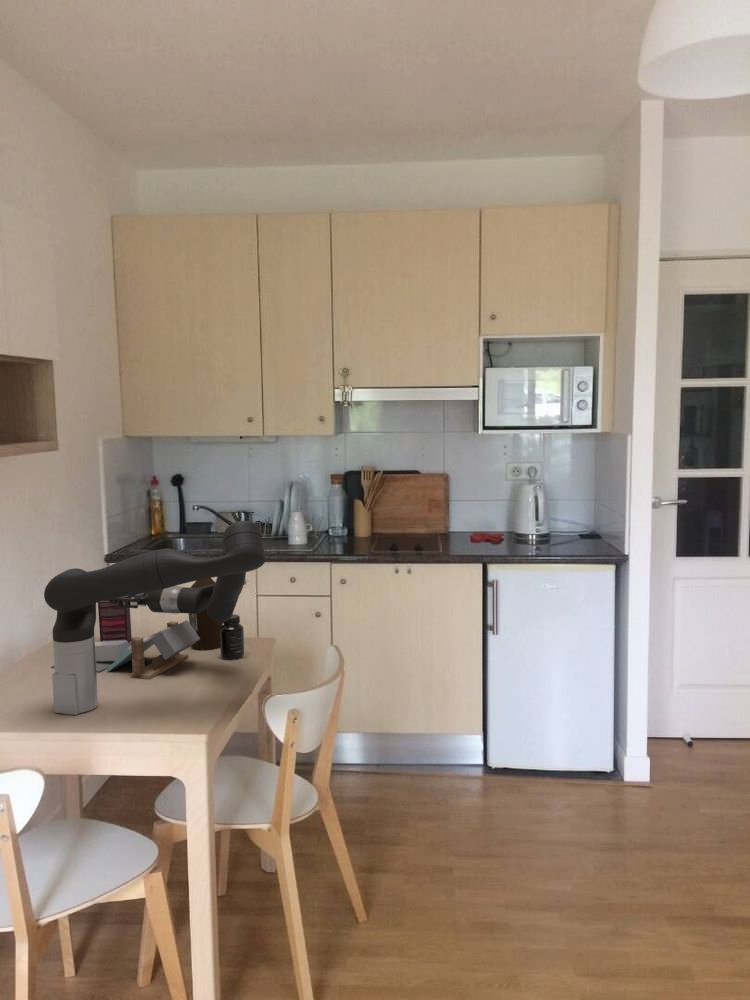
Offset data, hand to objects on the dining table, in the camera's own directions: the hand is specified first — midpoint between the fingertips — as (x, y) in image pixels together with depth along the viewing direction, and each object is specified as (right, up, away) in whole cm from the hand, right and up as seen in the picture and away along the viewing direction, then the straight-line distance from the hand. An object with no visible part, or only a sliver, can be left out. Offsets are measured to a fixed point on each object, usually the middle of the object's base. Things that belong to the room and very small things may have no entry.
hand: (118, 596), depth 216 cm
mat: (-9, -19, +5) cm, 22 cm away
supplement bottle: (+31, -19, +7) cm, 37 cm away
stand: (+12, -20, -2) cm, 23 cm away
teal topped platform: (+13, -19, -2) cm, 23 cm away
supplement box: (-8, -18, +21) cm, 29 cm away
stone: (+1, -16, +1) cm, 16 cm away
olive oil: (+21, -18, +19) cm, 33 cm away
